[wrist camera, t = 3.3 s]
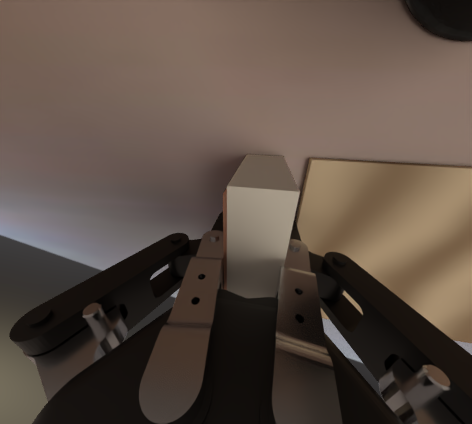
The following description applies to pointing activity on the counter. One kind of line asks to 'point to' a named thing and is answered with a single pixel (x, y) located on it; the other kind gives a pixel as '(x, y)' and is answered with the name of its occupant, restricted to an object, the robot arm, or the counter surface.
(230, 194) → the card box
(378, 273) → the mat
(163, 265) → the robot arm
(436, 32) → the milk frother
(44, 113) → the counter surface
